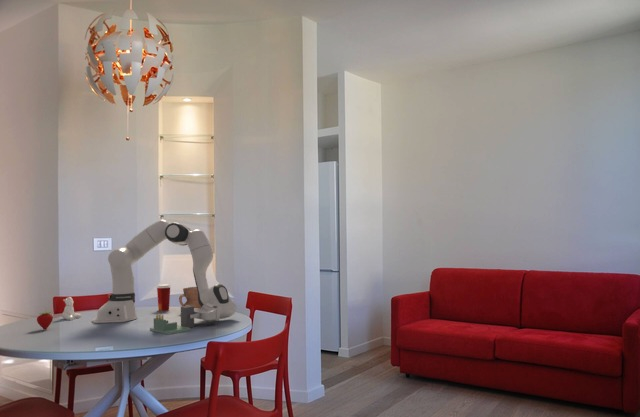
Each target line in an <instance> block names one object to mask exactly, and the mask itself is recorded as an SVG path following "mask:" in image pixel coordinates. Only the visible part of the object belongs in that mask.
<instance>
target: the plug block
mask: <svg viewBox="0 0 640 417" xmlns="http://www.w3.org/2000/svg"><path fill="white" fill-rule="evenodd" d="M190 314H194V306H189V305H185V306H183V307H182V306H180V326H183V327H189V328H194V327H195V318H189V315H190Z"/></svg>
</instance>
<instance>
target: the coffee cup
mask: <svg viewBox="0 0 640 417" xmlns="http://www.w3.org/2000/svg"><path fill="white" fill-rule="evenodd" d="M156 291H157V293H156V295H157V306H158V307H157V309H158V311H159V312H167V311H169V310H170V302H171V301H170V299H171V298H170V297H171V284H165V283H164V284H157V286H156Z"/></svg>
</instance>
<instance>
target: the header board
mask: <svg viewBox="0 0 640 417" xmlns="http://www.w3.org/2000/svg"><path fill="white" fill-rule="evenodd" d="M191 328H192V327H191ZM191 328H189V327H183V326H181V325H178V322H177V321H175V322H169V320H166V319H164V314H157V313H156V314H155V317H153V326H152V327H149V331H151V332H155V333H156V332H157V333H159V334H165V335H174V334H178V333H184V332H189V331H191Z"/></svg>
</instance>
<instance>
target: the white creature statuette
mask: <svg viewBox="0 0 640 417" xmlns="http://www.w3.org/2000/svg"><path fill="white" fill-rule="evenodd" d="M62 301H63V302H64V304H65V306H64V310H63V312H62V313H61V315H62V316H61V317H62V319H63V320H65V319H67V321H73V320H75V319H74V318H76V319H81V318H82V314H81V313H77V312H75V309H74V308H75V307H74V303H75V302H74V300H73V298H72V297H71V296H68V297H66V298H63V299H62Z"/></svg>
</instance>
